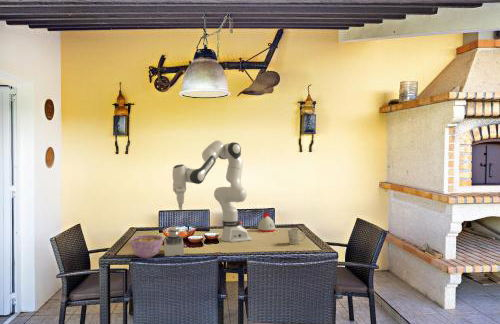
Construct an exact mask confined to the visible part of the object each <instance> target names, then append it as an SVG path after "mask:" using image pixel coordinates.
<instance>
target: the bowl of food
mask: <svg viewBox="0 0 500 324" xmlns="http://www.w3.org/2000/svg"><path fill="white" fill-rule="evenodd" d="M163 238H164V237H163V236H161V235H157V234H156V235H154V234H150V235H149V234H145V235H144V234H143V235H137V236H134V237H132V238H130V246H131V248H132V252H133V254H134V255H135V256H136V257H139V258H141V259H151V258H154V256H156V255H158V254H159V253H160V251H161V247H162V243H163Z"/></svg>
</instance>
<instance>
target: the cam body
mask: <svg viewBox="0 0 500 324" xmlns="http://www.w3.org/2000/svg"><path fill="white" fill-rule="evenodd" d="M163 247H164V248H163V249H164V250H163V251H164V257H176V256H175V255H180V256H184V255H185V252H184V250H185V249H184V248H185V243H184V240H183V236H182V235H178V238H175V239H170V238H169V235H168V236H166V237H165V238H164V246H163Z"/></svg>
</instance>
